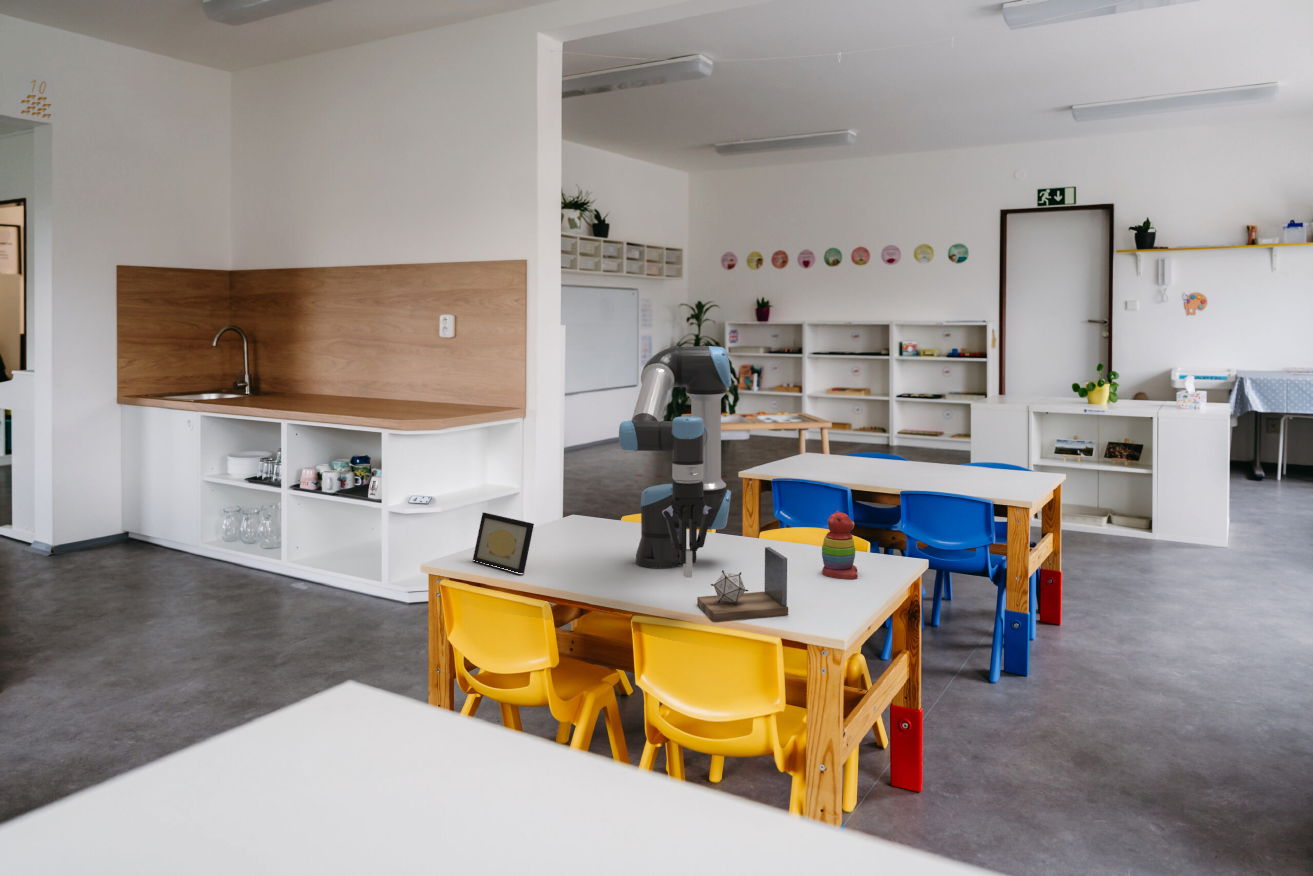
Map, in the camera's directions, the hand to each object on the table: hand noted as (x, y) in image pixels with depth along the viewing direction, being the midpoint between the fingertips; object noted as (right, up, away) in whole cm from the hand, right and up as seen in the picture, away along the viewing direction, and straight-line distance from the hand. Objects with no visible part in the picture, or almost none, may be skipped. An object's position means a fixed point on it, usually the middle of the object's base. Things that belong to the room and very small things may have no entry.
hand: (687, 576), depth 220 cm
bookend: (+22, -7, +7) cm, 24 cm away
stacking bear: (+45, -5, +37) cm, 58 cm away
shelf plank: (+14, -9, +5) cm, 17 cm away
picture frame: (-52, -5, +48) cm, 71 cm away
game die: (+10, -8, +4) cm, 13 cm away
